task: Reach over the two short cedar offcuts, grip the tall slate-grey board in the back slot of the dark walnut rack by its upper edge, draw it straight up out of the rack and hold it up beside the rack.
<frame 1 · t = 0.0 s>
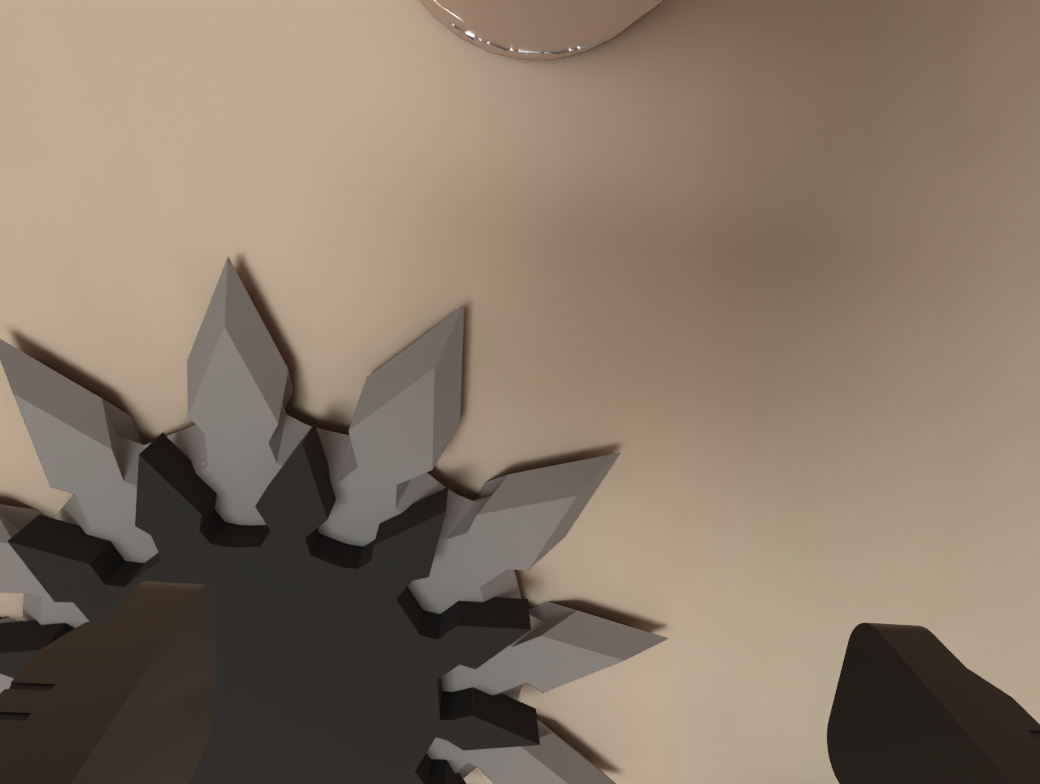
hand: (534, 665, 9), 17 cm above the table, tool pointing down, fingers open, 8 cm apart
decorative piece: (290, 629, 30), on the table
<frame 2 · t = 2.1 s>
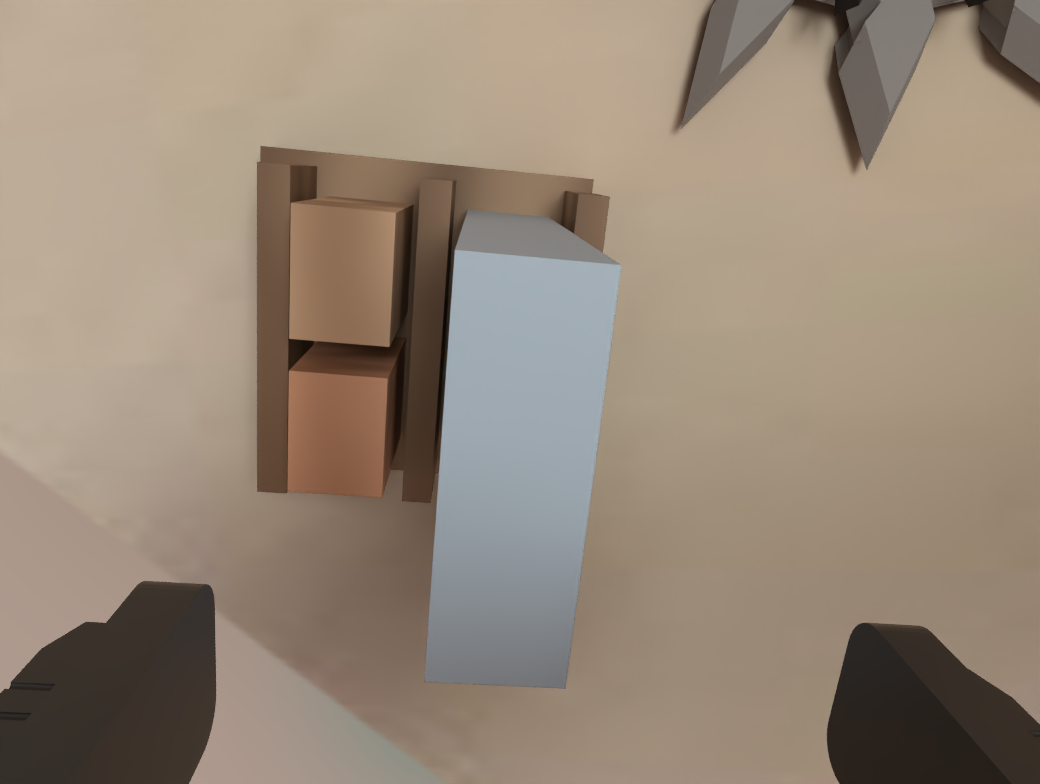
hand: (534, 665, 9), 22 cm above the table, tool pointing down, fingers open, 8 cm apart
tall board: (497, 332, 29), point 1 cm above the table, touching rack
rack: (422, 318, 30), on the table
offcut 1: (370, 255, 28), point 1 cm above the table, touching rack
offcut 2: (364, 384, 29), point 1 cm above the table, touching rack
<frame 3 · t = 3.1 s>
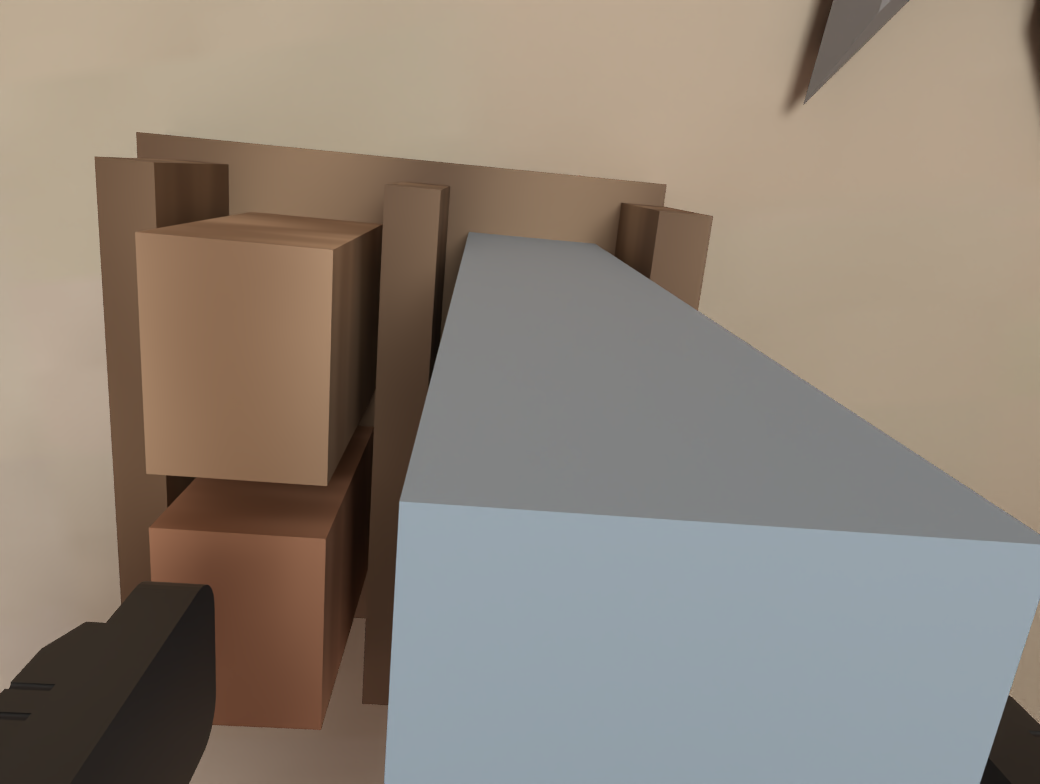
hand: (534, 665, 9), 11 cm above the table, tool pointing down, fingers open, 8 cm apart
tall board: (514, 418, 19), point 1 cm above the table, touching rack
rack: (401, 392, 20), on the table
offcut 1: (315, 303, 18), point 1 cm above the table, touching rack
offcut 2: (312, 495, 19), point 1 cm above the table, touching rack
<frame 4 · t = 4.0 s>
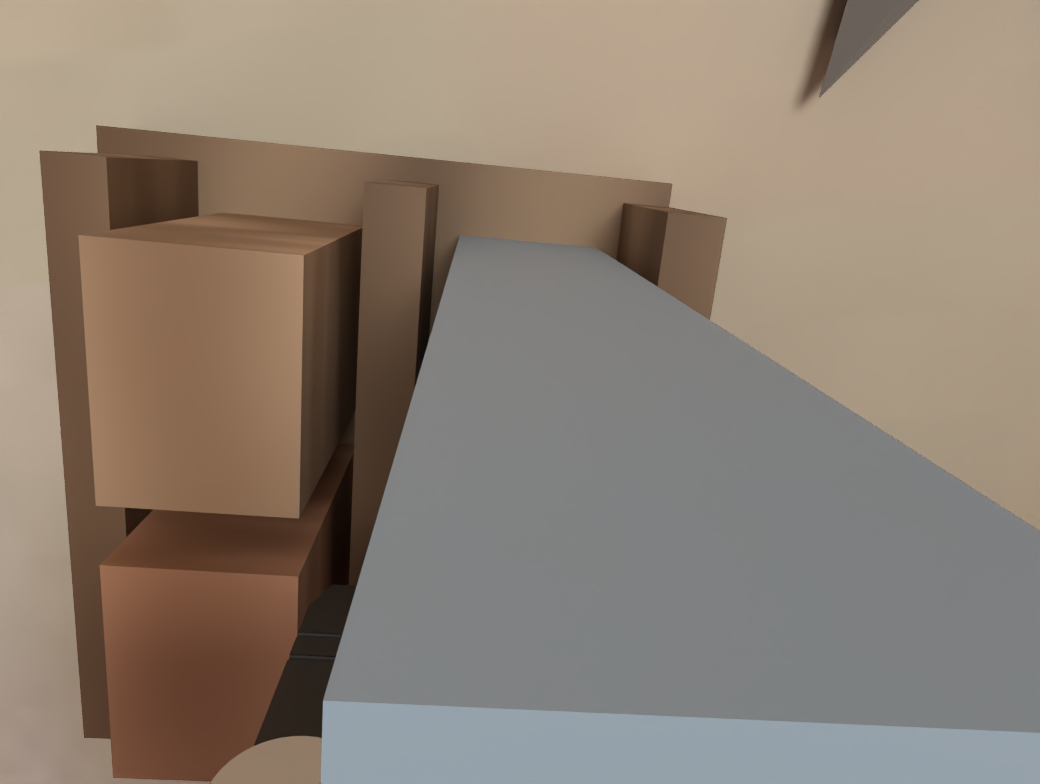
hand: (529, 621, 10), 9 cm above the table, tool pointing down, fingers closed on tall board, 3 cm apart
tall board: (509, 434, 18), point 1 cm above the table, touching gripper, rack
rack: (387, 406, 19), on the table
offcut 1: (293, 311, 17), point 1 cm above the table, touching rack
offcut 2: (290, 517, 18), point 1 cm above the table, touching rack
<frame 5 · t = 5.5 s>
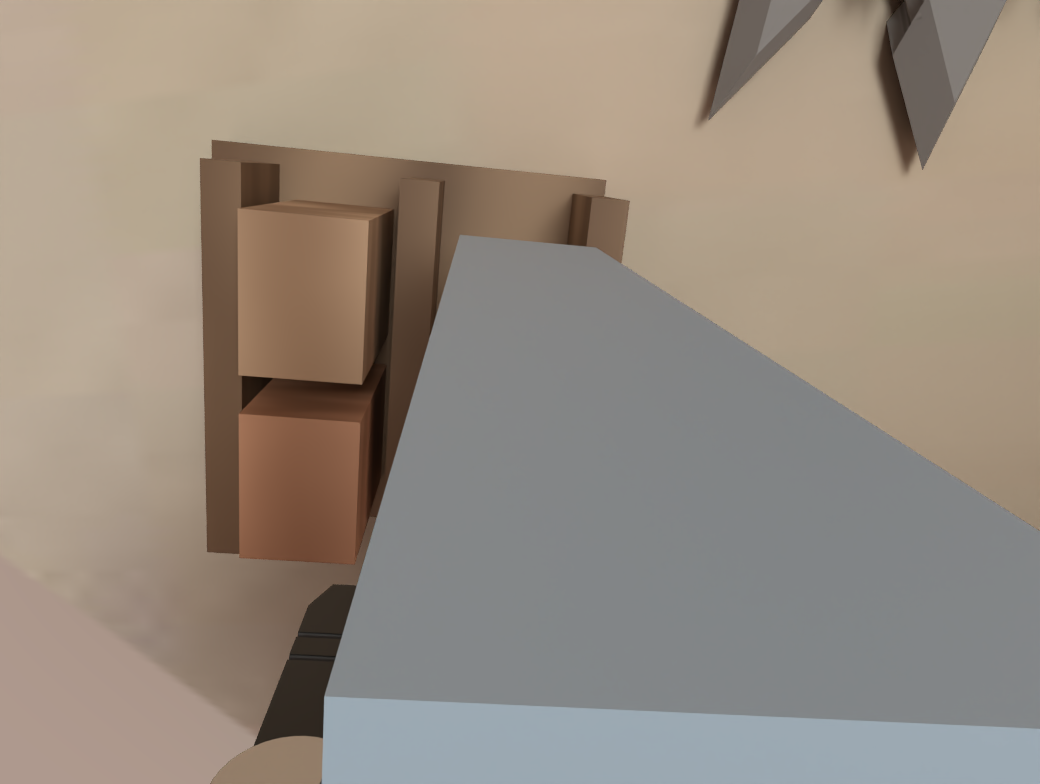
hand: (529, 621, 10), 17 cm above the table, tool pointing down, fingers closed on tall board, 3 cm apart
tall board: (509, 434, 18), point 9 cm above the table, touching gripper
rack: (406, 341, 26), on the table
offcut 1: (343, 269, 24), point 1 cm above the table, touching rack
offcut 2: (338, 418, 25), point 1 cm above the table, touching rack
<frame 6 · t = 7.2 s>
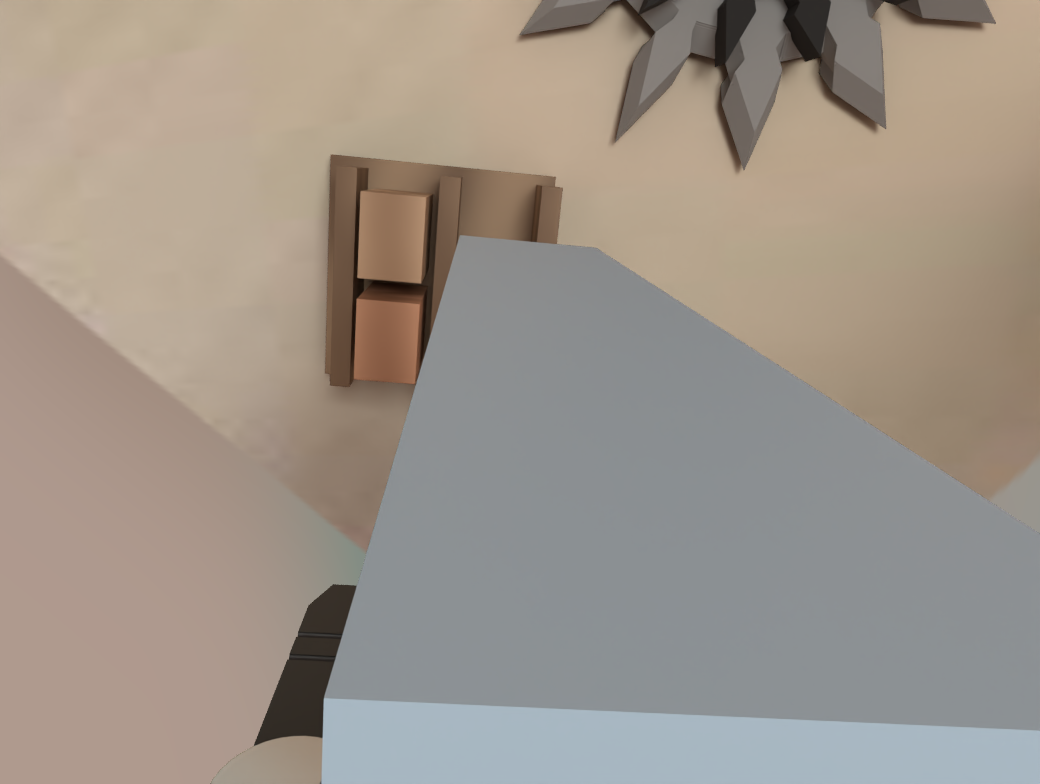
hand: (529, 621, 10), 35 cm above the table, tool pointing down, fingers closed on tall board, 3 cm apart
tall board: (509, 434, 18), point 27 cm above the table, touching gripper
rack: (438, 274, 43), on the table
offcut 1: (403, 228, 41), point 1 cm above the table, touching rack
offcut 2: (398, 319, 42), point 1 cm above the table, touching rack
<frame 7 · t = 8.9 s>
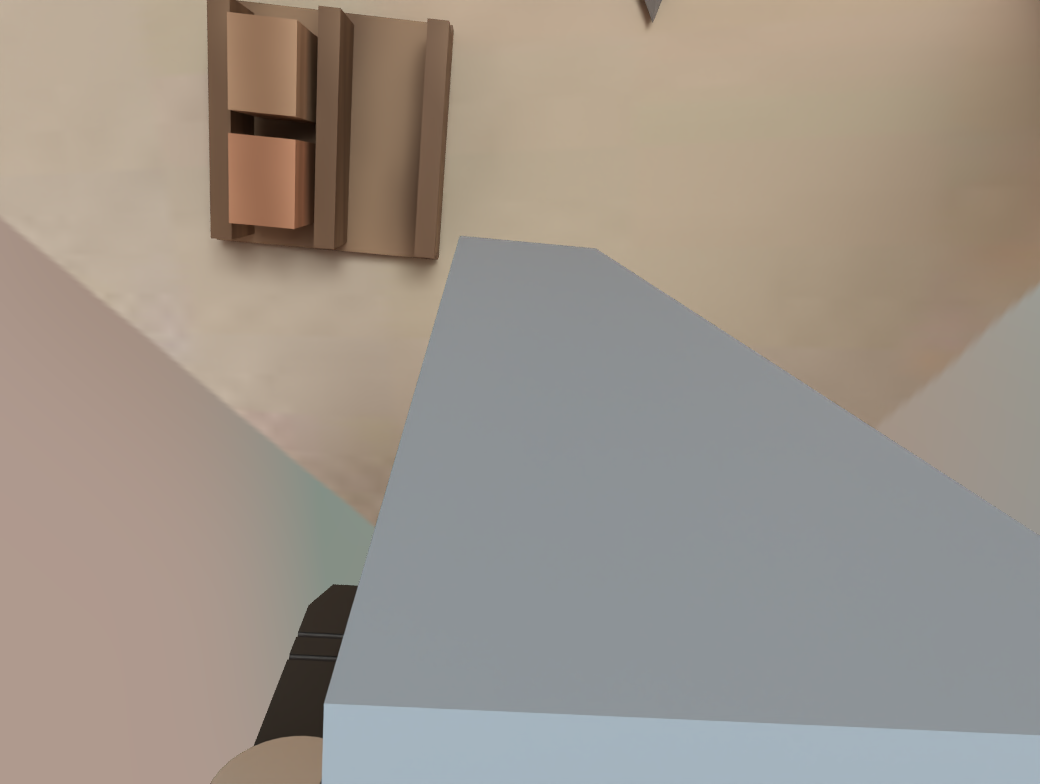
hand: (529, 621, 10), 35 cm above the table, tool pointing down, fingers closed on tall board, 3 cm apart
tall board: (509, 435, 18), point 27 cm above the table, touching gripper
rack: (336, 136, 41), on the table
offcut 1: (293, 81, 39), point 1 cm above the table, touching rack
offcut 2: (292, 180, 40), point 1 cm above the table, touching rack
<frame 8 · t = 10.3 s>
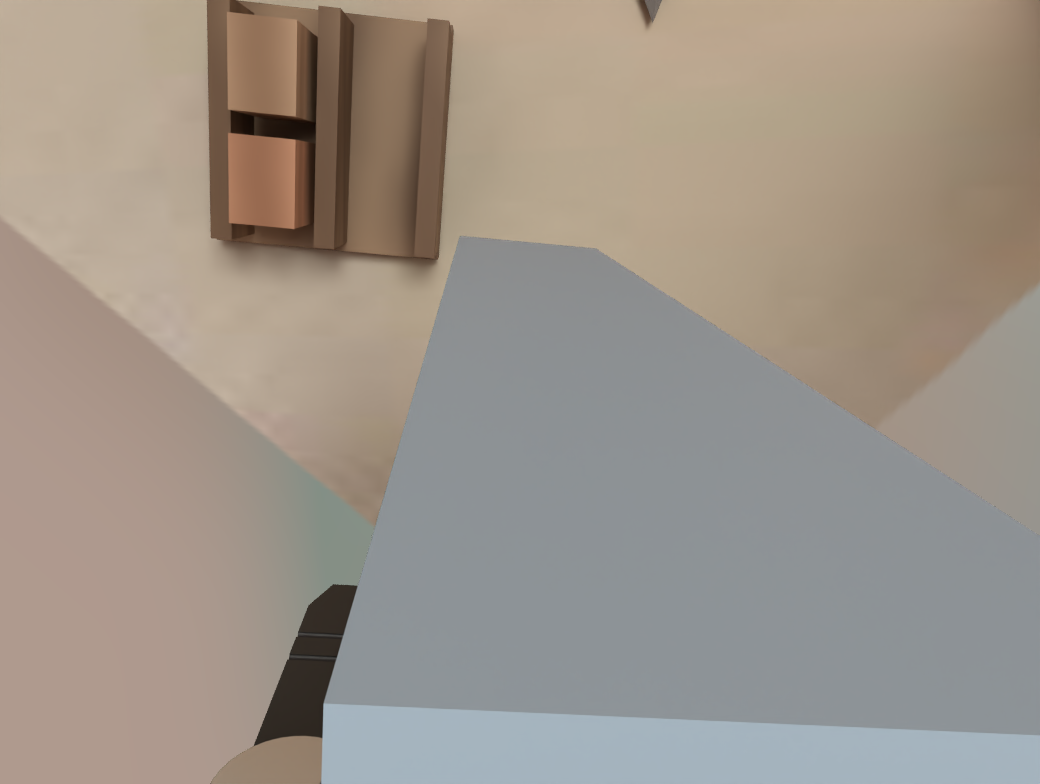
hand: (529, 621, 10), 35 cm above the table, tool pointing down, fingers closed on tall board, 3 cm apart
tall board: (509, 435, 18), point 27 cm above the table, touching gripper
rack: (336, 136, 41), on the table
offcut 1: (293, 81, 39), point 1 cm above the table, touching rack
offcut 2: (292, 180, 40), point 1 cm above the table, touching rack
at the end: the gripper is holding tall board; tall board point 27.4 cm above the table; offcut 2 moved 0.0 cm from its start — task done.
